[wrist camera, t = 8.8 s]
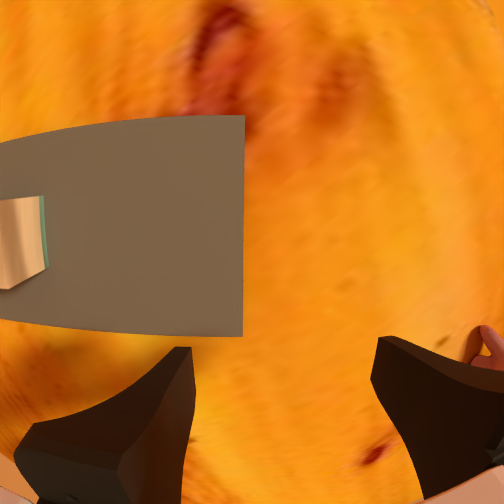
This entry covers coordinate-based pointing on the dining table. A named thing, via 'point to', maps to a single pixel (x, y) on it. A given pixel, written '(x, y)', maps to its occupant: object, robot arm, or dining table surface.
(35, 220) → the birch block
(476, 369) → the robot arm
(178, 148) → the rubber mat
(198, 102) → the dining table surface
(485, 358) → the video game controller
